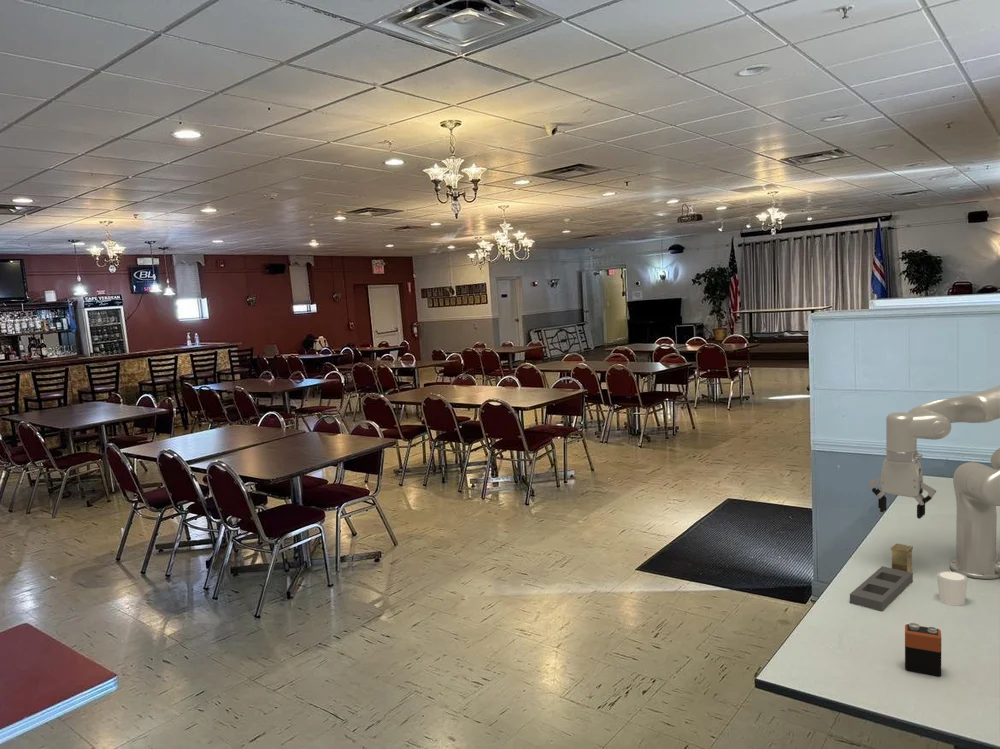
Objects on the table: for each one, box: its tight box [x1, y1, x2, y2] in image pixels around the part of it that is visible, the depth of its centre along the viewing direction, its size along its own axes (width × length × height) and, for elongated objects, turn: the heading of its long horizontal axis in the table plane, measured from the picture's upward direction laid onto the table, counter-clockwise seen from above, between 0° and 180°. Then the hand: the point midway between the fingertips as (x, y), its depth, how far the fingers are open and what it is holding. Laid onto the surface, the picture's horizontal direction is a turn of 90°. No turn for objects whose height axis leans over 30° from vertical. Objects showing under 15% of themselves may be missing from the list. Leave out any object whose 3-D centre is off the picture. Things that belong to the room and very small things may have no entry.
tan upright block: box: [890, 542, 914, 573], centre depth 203 cm, size 4×4×8 cm
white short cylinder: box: [936, 570, 969, 607], centre depth 184 cm, size 7×7×7 cm
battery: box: [904, 622, 942, 677], centre depth 154 cm, size 4×7×10 cm, turn 60°
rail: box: [849, 565, 914, 612], centre depth 192 cm, size 8×24×2 cm, turn 133°
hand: (901, 514), depth 201 cm, fingers open, 9 cm apart
